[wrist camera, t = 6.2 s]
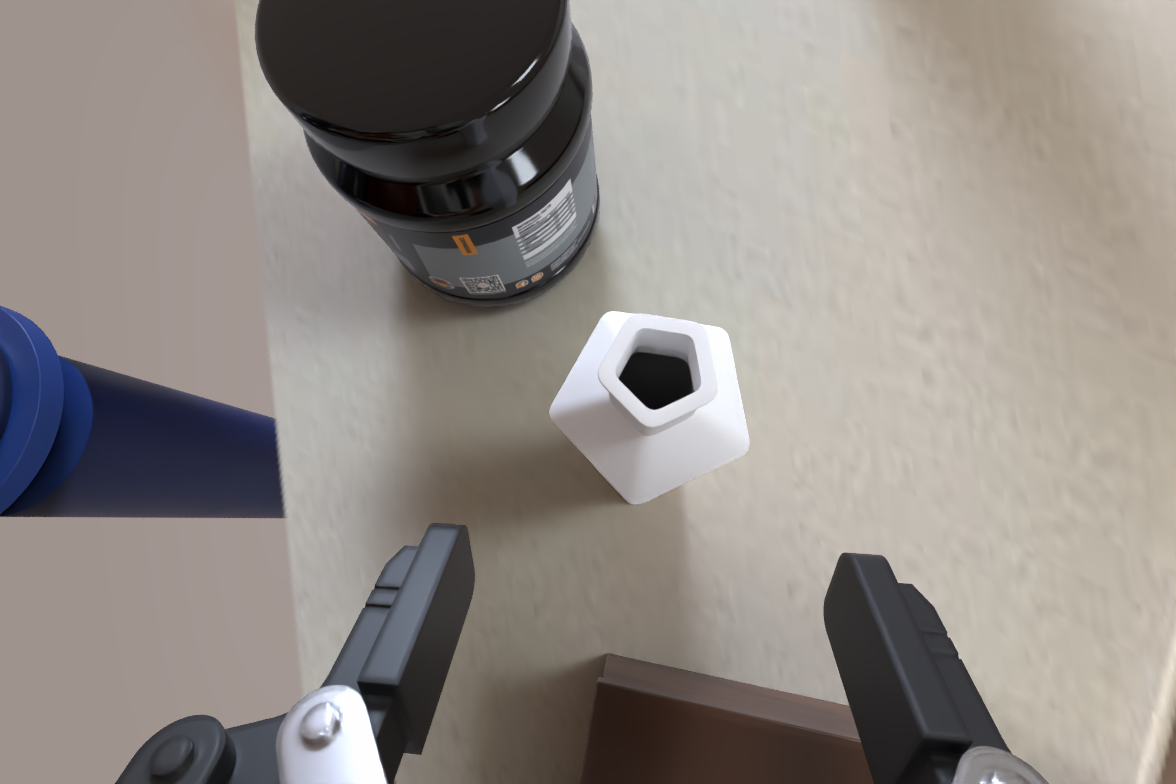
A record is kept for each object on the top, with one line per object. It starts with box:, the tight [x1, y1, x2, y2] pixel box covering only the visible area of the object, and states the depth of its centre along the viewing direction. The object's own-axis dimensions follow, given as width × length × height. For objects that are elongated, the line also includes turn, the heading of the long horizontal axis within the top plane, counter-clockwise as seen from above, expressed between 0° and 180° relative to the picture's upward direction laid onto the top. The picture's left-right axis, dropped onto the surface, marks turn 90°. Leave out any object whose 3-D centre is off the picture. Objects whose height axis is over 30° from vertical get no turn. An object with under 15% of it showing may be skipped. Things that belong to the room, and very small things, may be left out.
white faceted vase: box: [549, 311, 749, 505], centre depth 17 cm, size 5×4×15 cm
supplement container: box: [255, 0, 600, 307], centre depth 22 cm, size 10×10×12 cm
